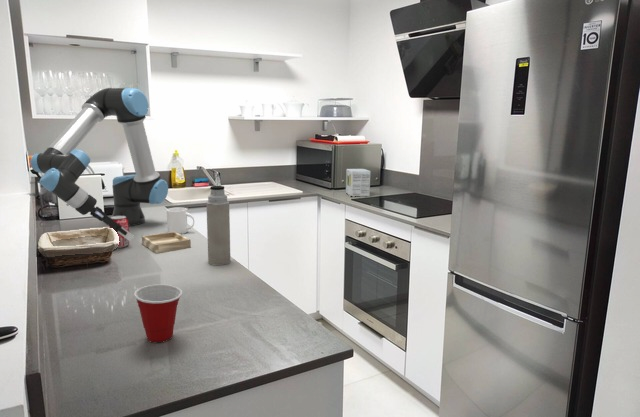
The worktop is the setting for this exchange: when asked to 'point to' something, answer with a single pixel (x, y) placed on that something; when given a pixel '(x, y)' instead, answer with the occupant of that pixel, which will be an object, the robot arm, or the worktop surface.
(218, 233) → the thermos bottle
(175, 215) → the mug
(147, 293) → the plastic cup
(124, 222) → the soda can
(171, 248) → the tray
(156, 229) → the worktop surface
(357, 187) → the supplement box
